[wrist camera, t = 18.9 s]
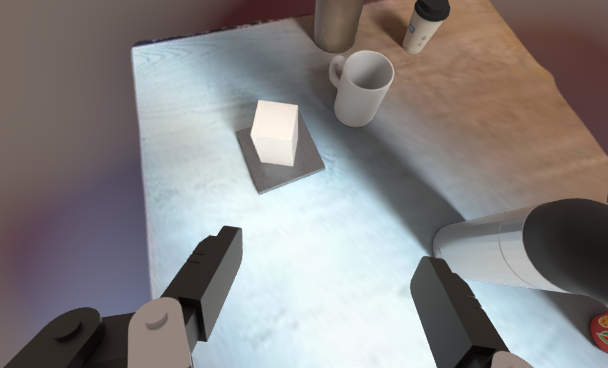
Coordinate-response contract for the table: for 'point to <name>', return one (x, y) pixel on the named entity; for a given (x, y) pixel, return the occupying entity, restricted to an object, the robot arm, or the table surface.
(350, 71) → the mug
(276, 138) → the white rectangular block
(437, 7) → the coffee cup
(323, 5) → the pillar candle
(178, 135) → the table surface
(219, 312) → the robot arm
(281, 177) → the base plate
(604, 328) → the smoothie
